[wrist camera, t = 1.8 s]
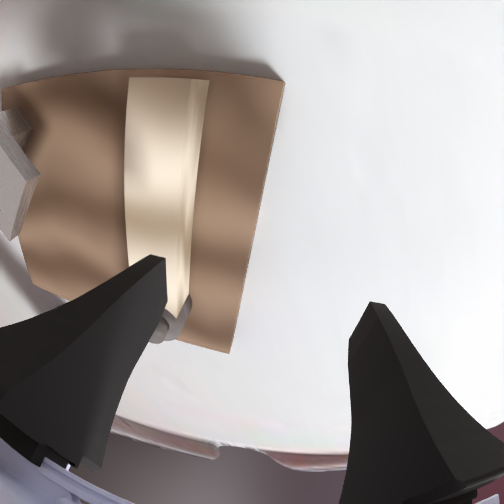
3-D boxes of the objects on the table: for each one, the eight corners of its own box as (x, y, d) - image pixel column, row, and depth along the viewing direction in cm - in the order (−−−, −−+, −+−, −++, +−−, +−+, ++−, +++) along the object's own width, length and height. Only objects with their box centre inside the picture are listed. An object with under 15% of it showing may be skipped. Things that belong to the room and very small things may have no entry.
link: (191, 321, 21) (176, 357, 18) (148, 308, 21) (129, 341, 18) (215, 80, 12) (189, 78, 9) (150, 77, 12) (111, 78, 9)
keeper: (77, 155, 15) (26, 181, 11) (50, 211, 18) (9, 241, 14) (23, 91, 13) (-26, 104, 9) (2, 149, 15) (-38, 169, 12)
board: (232, 340, 24) (229, 353, 23) (40, 276, 25) (32, 284, 23) (285, 82, 13) (283, 81, 12) (15, 86, 14) (2, 89, 13)
